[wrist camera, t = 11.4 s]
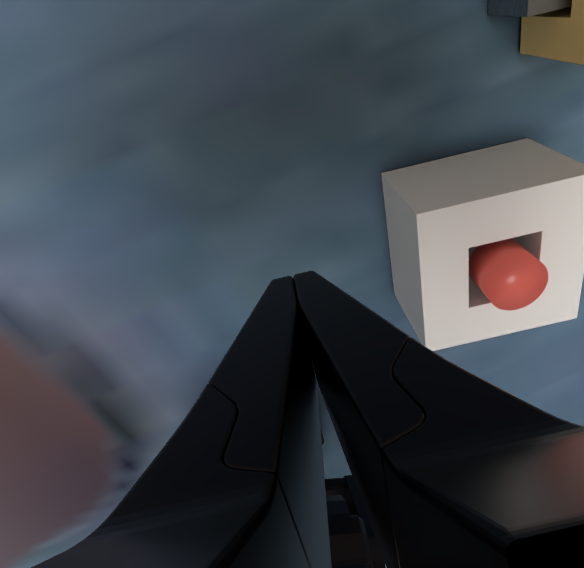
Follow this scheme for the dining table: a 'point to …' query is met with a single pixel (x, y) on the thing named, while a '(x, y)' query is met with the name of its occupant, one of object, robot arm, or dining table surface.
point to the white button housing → (483, 237)
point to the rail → (525, 7)
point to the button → (507, 274)
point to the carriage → (555, 34)
